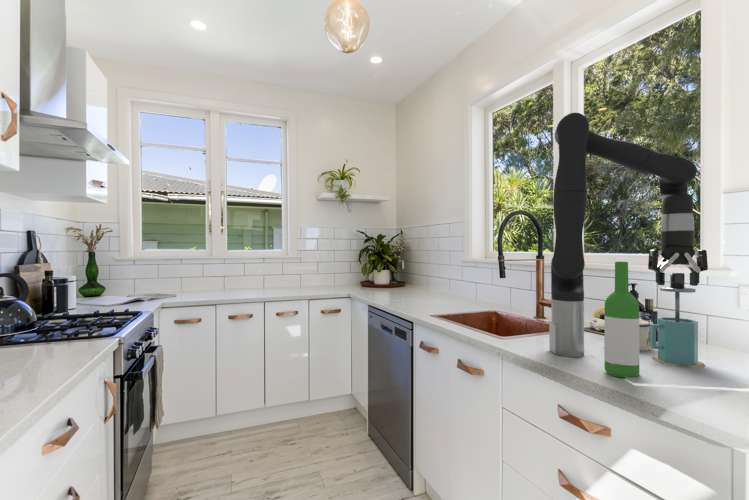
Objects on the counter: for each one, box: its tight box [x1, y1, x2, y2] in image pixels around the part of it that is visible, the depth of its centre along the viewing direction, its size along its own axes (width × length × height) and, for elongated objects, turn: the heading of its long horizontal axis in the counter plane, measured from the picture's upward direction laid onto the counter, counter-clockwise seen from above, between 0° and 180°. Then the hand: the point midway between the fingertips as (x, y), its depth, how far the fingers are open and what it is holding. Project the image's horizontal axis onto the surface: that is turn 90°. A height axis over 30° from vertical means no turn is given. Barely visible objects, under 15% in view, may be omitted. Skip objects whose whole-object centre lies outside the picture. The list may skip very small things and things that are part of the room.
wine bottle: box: [603, 261, 641, 379], centre depth 98 cm, size 8×8×30 cm
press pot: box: [649, 316, 699, 366], centre depth 107 cm, size 11×8×12 cm
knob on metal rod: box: [659, 272, 696, 323], centre depth 107 cm, size 8×8×15 cm
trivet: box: [651, 354, 706, 369], centre depth 107 cm, size 12×12×1 cm
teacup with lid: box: [639, 317, 651, 351], centre depth 125 cm, size 12×9×12 cm
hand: (677, 285), depth 107 cm, fingers open, 8 cm apart
